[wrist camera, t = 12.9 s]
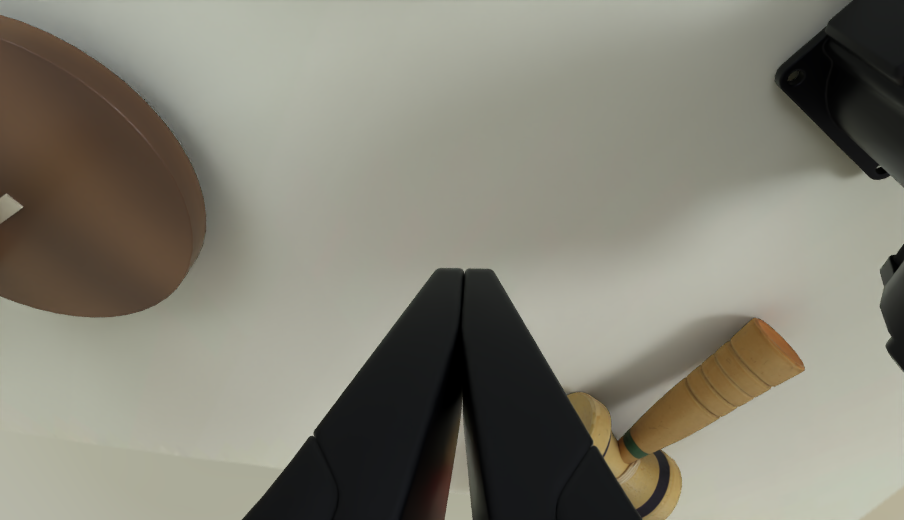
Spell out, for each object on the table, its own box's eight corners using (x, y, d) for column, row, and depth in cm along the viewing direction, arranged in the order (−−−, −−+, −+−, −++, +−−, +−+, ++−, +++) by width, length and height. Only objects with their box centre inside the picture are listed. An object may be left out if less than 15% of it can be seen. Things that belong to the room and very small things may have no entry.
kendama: (690, 259, 26) (460, 461, 33) (773, 363, 21) (482, 571, 29) (773, 313, 29) (549, 484, 37) (860, 411, 25) (582, 584, 32)
